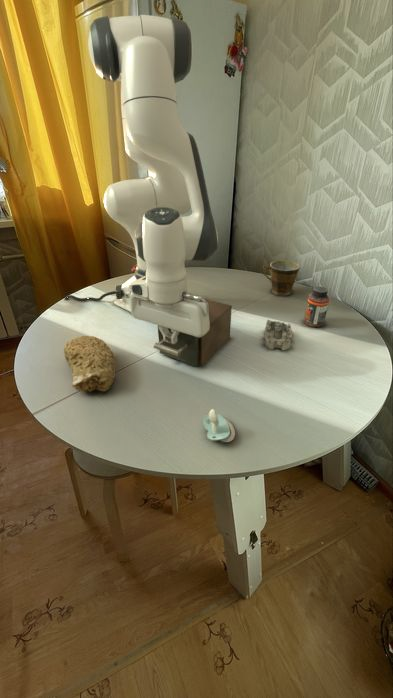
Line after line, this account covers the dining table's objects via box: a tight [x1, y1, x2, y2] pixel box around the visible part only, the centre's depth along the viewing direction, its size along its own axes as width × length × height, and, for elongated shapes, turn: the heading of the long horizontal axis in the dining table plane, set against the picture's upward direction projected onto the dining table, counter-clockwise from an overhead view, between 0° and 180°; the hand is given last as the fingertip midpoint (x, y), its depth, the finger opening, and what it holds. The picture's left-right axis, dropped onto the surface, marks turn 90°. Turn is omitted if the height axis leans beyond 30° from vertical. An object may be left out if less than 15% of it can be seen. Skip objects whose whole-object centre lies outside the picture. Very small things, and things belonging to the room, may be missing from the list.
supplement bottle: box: [303, 286, 330, 328], centre depth 105 cm, size 6×6×11 cm
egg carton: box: [263, 319, 293, 351], centre depth 99 cm, size 11×8×4 cm
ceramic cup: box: [260, 259, 301, 297], centre depth 124 cm, size 13×10×10 cm
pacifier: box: [202, 408, 236, 443], centre depth 69 cm, size 7×6×6 cm
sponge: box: [63, 335, 116, 393], centre depth 87 cm, size 13×8×20 cm
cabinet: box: [197, 297, 233, 367], centre depth 95 cm, size 16×13×11 cm
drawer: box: [153, 327, 199, 367], centre depth 92 cm, size 19×11×9 cm, turn 148°
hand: (170, 341), depth 85 cm, fingers closed
